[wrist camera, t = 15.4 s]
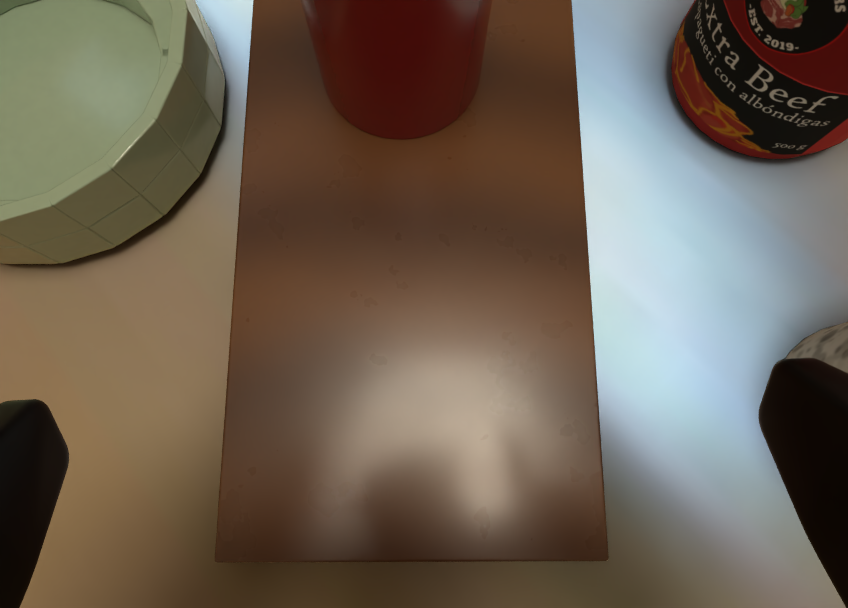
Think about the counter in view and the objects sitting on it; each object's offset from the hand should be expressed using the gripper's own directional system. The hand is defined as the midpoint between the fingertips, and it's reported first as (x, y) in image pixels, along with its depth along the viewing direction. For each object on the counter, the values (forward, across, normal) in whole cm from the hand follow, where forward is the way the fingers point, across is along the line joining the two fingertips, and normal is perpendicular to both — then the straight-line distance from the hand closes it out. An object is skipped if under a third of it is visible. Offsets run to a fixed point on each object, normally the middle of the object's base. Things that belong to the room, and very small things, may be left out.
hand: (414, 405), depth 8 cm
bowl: (+19, +13, +1) cm, 23 cm away
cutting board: (+14, 0, +5) cm, 15 cm away
